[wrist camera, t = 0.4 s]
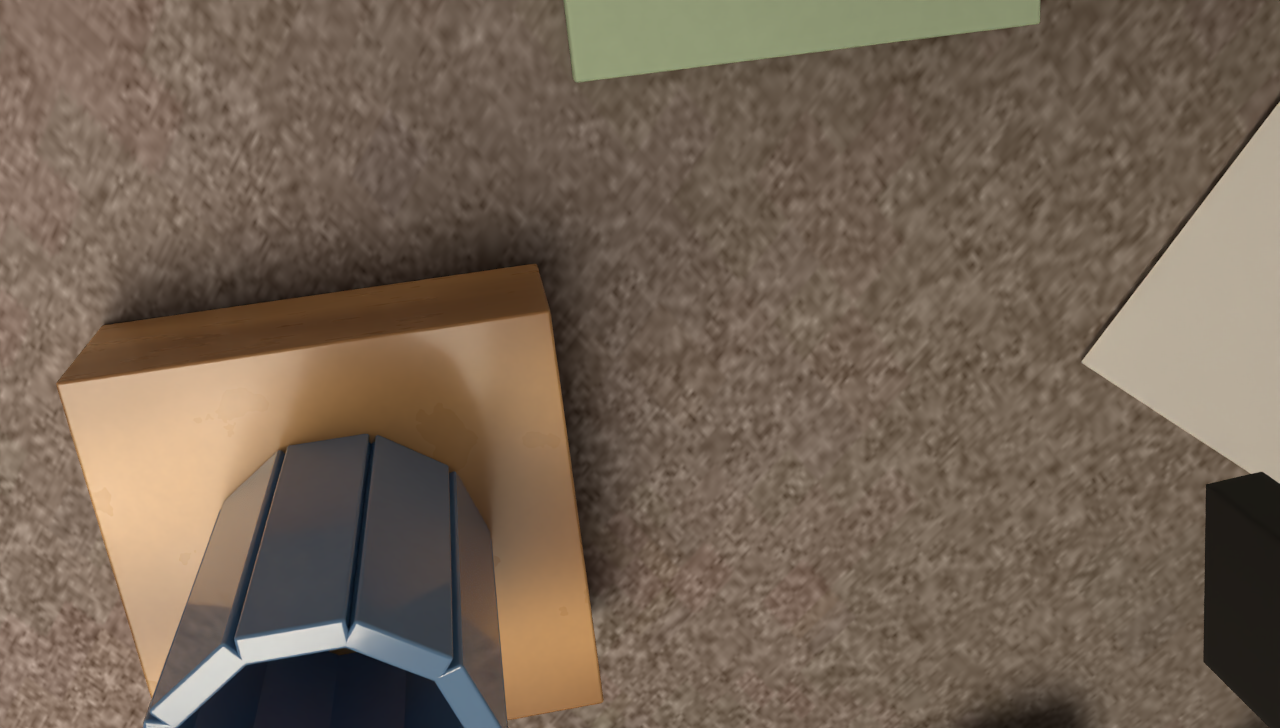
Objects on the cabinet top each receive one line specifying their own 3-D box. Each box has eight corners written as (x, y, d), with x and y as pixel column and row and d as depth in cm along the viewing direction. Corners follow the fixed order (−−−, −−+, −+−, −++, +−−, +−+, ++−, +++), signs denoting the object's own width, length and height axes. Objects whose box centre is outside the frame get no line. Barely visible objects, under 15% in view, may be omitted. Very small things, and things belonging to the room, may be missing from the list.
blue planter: (181, 461, 28) (88, 663, 20) (470, 416, 28) (482, 595, 21) (243, 692, 30) (180, 948, 23) (509, 645, 31) (532, 878, 23)
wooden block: (101, 324, 30) (54, 383, 27) (536, 262, 31) (550, 309, 28) (203, 687, 34) (175, 782, 31) (586, 620, 36) (603, 703, 32)
